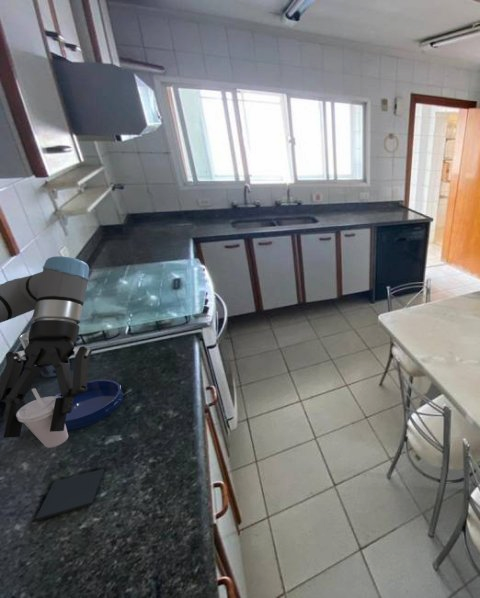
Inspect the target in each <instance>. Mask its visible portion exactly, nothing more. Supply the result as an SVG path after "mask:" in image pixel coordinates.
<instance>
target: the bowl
mask: <svg viewBox="0 0 480 598" xmlns="http://www.w3.org/2000/svg"><path fill="white" fill-rule="evenodd" d="M59 395H61V392H58V393H56V394H55V395H53V396H52V397H58V398H63V397H61V396H59ZM123 400H124V391H123V389H122V386H121V384H120V383H119V382H117V381H116V380H112V379H95V380H90V381H87V391H86V392H85V393H81V394H79V395H76V396H75V397H74V401H73V406H72V411H71V413H67V414H66V420H65V425H66V429H67V432H68V431H74V430H79V429H83V428H87V427H88V426H92V425H93V424H95V423H97V422H99V421H101V420H103V419H105V418H106V417H108V416H109V415H110V414H112V413H113V412H115V410H117V409H118V407H120V406H121V404H122V402H123Z"/></svg>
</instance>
